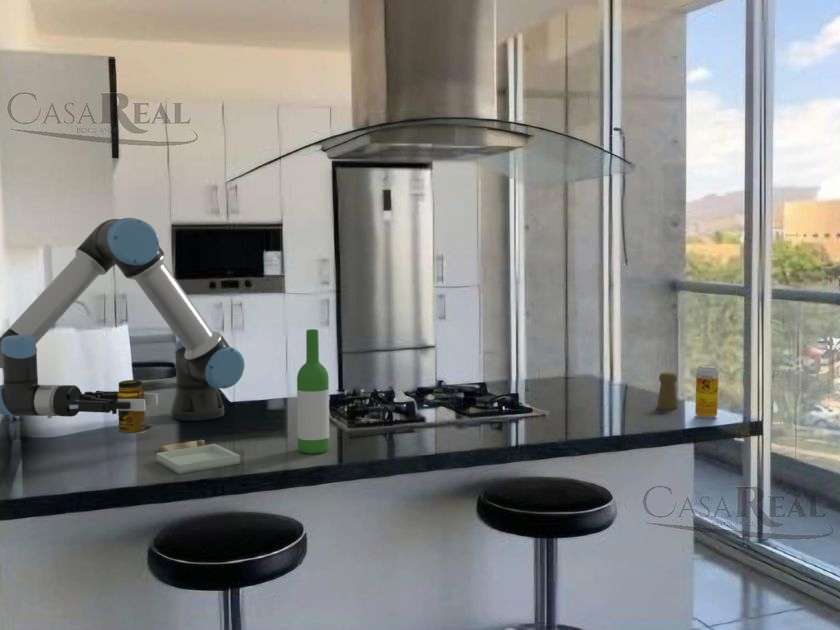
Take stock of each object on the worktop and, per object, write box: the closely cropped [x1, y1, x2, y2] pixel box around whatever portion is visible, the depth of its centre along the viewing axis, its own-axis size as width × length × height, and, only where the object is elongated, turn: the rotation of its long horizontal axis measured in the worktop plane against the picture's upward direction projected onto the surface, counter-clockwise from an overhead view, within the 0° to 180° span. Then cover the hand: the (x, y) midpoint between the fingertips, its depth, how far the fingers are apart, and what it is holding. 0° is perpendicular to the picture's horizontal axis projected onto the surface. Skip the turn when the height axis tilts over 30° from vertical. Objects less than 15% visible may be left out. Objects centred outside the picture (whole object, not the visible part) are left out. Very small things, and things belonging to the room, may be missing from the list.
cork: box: [656, 371, 678, 411], centre depth 261 cm, size 6×6×11 cm
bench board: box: [160, 439, 206, 452], centre depth 208 cm, size 9×8×2 cm
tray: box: [156, 443, 241, 475], centre depth 197 cm, size 15×14×2 cm
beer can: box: [694, 364, 720, 419], centre depth 248 cm, size 6×6×15 cm
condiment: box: [113, 379, 155, 435], centre depth 203 cm, size 7×8×12 cm
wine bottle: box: [296, 328, 330, 455], centre depth 207 cm, size 8×8×30 cm
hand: (150, 402), depth 201 cm, fingers closed on condiment, 6 cm apart
